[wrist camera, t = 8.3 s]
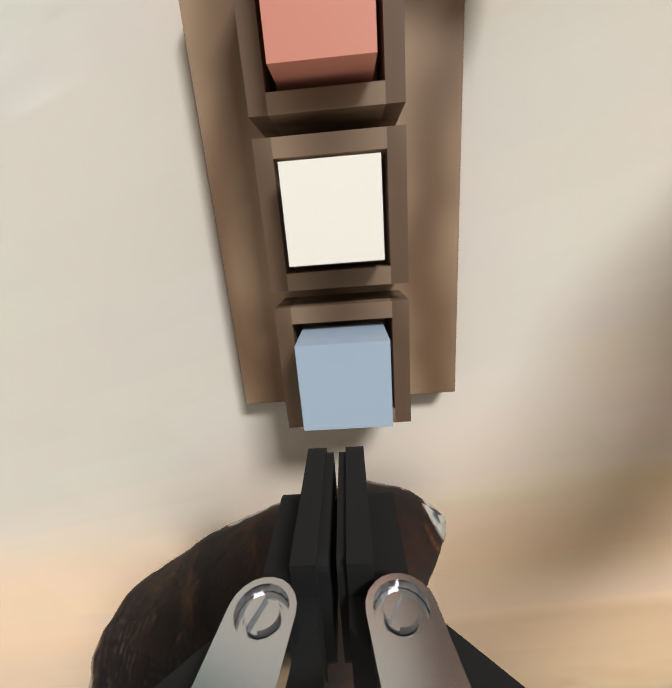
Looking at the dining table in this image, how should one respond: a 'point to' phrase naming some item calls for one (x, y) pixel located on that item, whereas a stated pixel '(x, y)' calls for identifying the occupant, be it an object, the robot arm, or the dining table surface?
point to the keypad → (331, 141)
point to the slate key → (345, 376)
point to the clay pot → (227, 595)
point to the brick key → (319, 42)
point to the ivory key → (333, 209)
